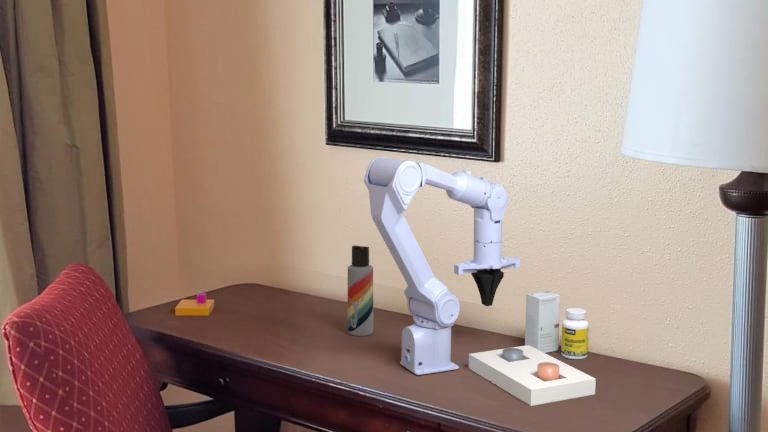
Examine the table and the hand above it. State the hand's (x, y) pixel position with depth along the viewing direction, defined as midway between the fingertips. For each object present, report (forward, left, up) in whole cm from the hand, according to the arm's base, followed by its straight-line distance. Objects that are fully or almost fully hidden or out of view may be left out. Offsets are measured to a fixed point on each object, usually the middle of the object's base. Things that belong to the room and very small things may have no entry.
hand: (487, 304), depth 193 cm
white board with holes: (-1, -18, -10) cm, 21 cm away
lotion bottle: (-18, +24, -11) cm, 32 cm away
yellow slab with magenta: (-48, +57, -11) cm, 75 cm away
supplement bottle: (+16, -9, -11) cm, 21 cm away
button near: (-1, -24, -9) cm, 26 cm away
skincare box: (+12, -3, -11) cm, 16 cm away
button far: (-1, -12, -10) cm, 16 cm away
